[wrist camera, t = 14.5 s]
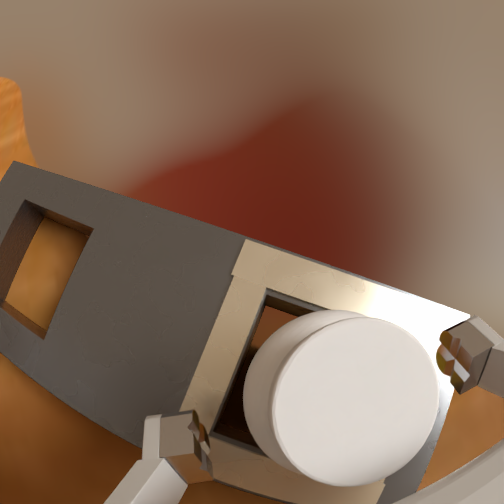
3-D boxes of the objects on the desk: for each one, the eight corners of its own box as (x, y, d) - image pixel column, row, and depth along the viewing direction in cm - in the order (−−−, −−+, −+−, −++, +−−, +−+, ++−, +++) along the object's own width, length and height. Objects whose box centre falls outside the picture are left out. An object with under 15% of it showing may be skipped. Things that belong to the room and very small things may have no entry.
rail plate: (-31, 306, 17) (-55, 297, 14) (30, 178, 20) (12, 159, 18) (384, 505, 12) (402, 522, 10) (446, 323, 16) (472, 314, 13)
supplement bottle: (315, 312, 16) (379, 239, 7) (375, 392, 15) (494, 403, 6) (228, 373, 15) (184, 378, 6) (290, 455, 14) (326, 550, 5)
